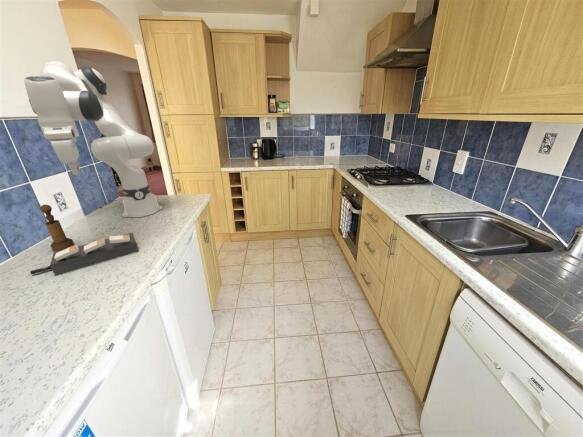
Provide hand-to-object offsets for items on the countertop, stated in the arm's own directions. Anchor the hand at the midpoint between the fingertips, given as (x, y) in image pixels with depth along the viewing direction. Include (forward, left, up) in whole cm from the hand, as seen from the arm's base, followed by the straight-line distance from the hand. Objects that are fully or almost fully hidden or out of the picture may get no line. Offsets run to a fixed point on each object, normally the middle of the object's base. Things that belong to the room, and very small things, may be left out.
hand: (76, 173), depth 86 cm
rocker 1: (+12, -9, -24) cm, 28 cm away
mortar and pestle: (-8, -13, -29) cm, 33 cm away
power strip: (+10, -4, -29) cm, 31 cm away
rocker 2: (+12, +6, -24) cm, 27 cm away
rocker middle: (+12, -2, -24) cm, 26 cm away
